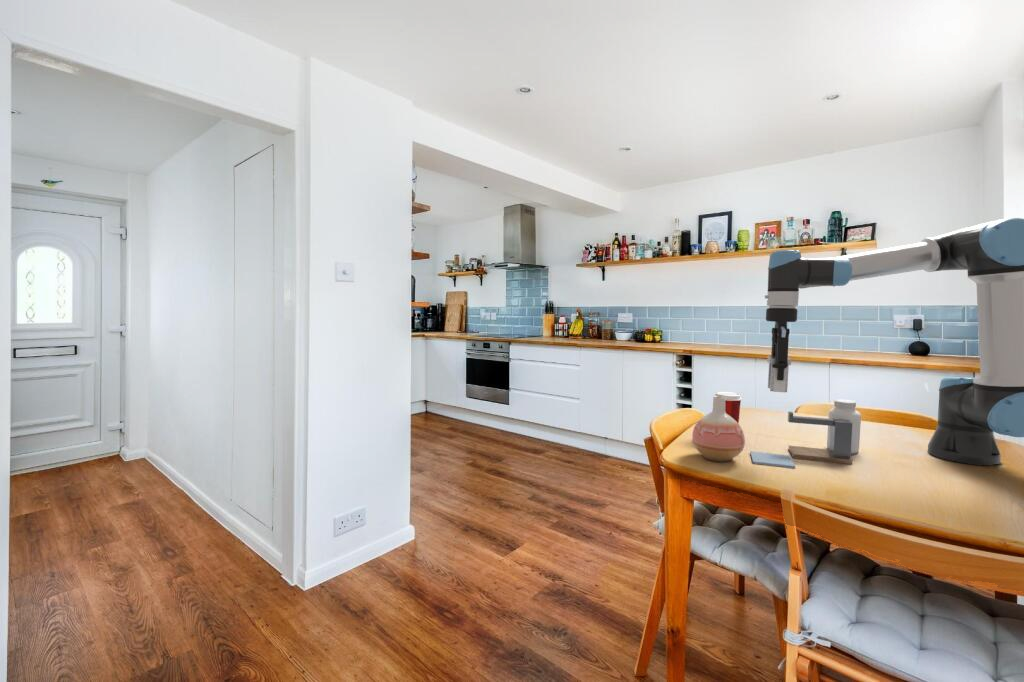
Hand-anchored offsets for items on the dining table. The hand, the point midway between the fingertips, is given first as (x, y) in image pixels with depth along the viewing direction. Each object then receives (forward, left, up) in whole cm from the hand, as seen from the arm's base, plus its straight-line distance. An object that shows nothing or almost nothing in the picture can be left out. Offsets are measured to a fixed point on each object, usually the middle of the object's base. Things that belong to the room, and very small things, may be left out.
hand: (777, 389), depth 133 cm
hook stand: (-12, -8, -20) cm, 24 cm away
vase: (+15, +5, -20) cm, 26 cm away
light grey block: (0, 0, 0) cm, 0 cm away
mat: (+1, +1, -20) cm, 20 cm away
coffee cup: (+12, -17, -20) cm, 29 cm away
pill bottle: (-20, -18, -20) cm, 33 cm away
